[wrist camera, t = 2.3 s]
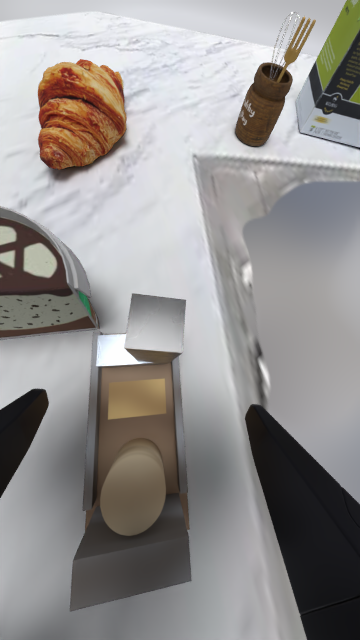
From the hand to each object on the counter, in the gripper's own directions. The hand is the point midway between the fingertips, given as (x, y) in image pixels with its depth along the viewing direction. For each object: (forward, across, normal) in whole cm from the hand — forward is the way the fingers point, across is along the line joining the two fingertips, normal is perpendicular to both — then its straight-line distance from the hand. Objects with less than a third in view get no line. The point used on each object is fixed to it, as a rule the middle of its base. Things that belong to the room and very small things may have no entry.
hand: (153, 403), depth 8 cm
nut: (+2, 0, +11) cm, 11 cm away
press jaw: (+9, +2, +4) cm, 10 cm away
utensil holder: (+37, -12, -22) cm, 45 cm away
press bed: (+6, +1, +10) cm, 11 cm away
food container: (+13, +11, +3) cm, 17 cm away
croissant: (+32, +13, -16) cm, 38 cm away
